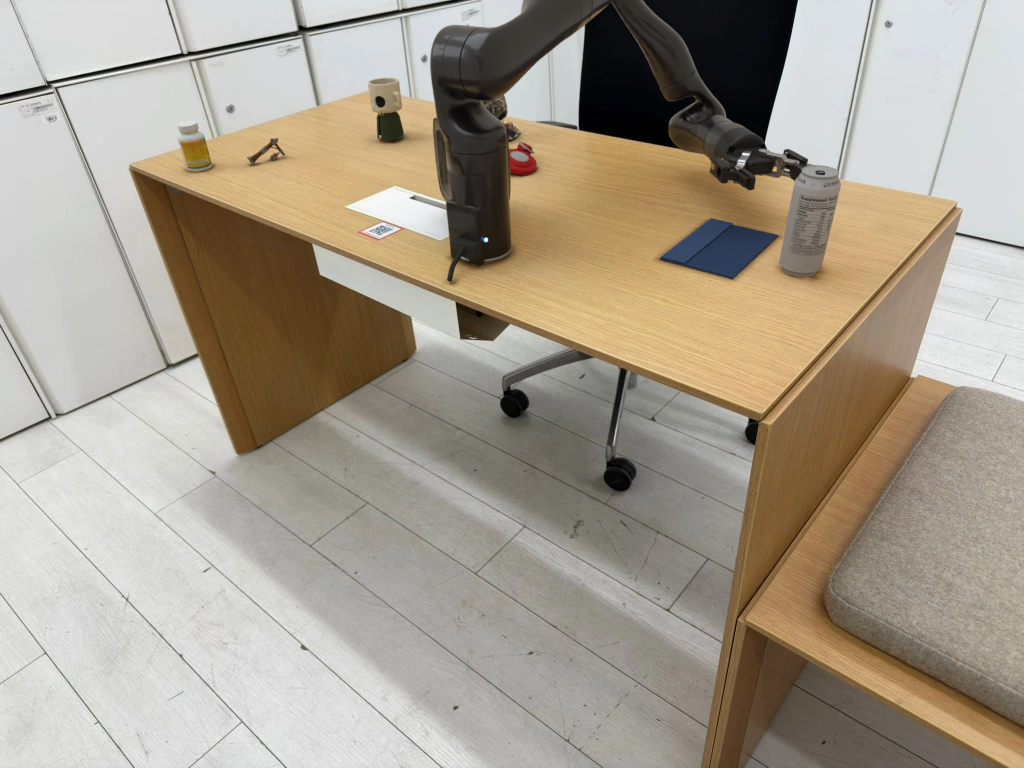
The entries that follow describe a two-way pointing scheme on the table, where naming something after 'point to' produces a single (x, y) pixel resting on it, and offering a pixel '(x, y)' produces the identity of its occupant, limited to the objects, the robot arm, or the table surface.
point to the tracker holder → (522, 159)
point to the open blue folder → (719, 248)
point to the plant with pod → (501, 114)
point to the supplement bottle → (193, 147)
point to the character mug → (386, 107)
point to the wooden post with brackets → (264, 150)
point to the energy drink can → (809, 220)
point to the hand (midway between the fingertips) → (779, 181)
